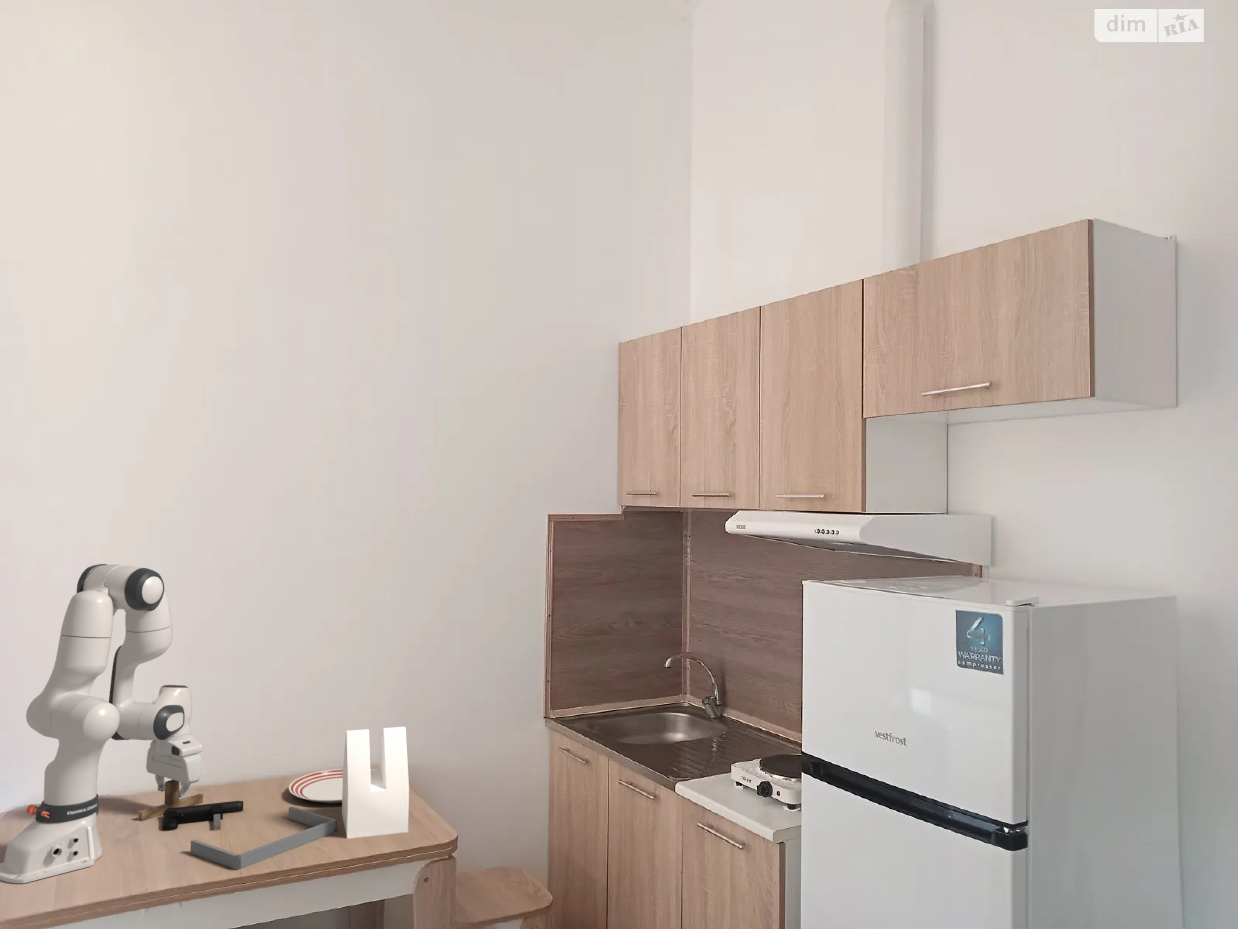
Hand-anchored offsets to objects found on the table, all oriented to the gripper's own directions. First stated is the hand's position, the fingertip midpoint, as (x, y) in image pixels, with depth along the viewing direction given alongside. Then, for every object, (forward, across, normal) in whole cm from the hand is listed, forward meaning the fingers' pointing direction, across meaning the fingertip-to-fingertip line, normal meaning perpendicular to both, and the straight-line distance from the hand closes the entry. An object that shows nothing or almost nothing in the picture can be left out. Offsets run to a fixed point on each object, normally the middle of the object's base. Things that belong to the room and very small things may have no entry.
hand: (172, 794), depth 261 cm
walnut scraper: (+5, 0, 0) cm, 5 cm away
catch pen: (+5, +40, 0) cm, 40 cm away
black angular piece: (+5, +14, 0) cm, 15 cm away
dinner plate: (+5, +25, +36) cm, 44 cm away
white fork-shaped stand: (+5, +52, +25) cm, 58 cm away
